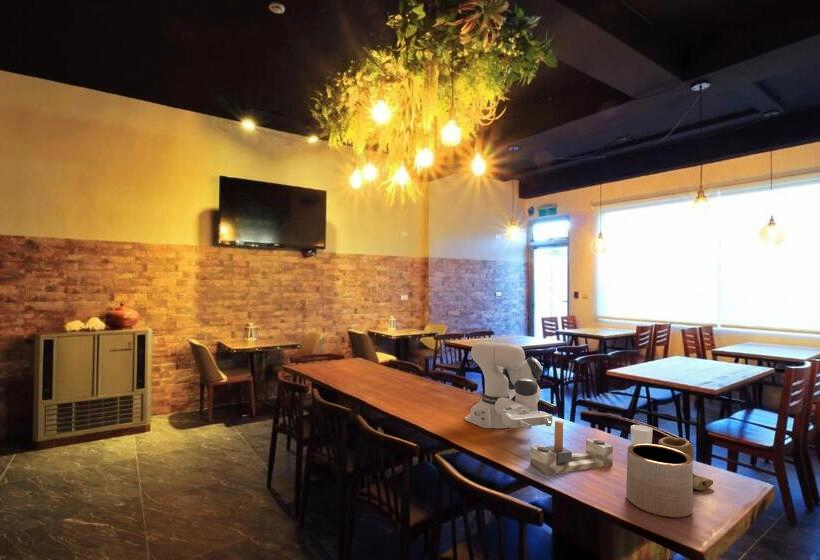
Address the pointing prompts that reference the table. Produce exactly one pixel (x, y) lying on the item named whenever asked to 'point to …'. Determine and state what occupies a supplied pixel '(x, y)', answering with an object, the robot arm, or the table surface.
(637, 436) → the white cup
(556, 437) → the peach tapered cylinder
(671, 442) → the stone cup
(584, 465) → the rail track
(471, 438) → the table surface
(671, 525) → the table surface
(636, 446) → the planter
